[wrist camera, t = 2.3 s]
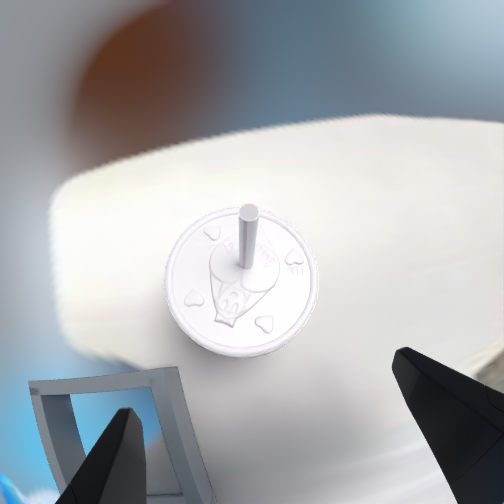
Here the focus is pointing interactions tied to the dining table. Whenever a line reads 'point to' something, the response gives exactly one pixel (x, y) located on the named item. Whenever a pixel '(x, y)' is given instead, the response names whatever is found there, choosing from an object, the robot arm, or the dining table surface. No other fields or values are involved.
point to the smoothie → (241, 282)
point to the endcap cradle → (169, 413)
